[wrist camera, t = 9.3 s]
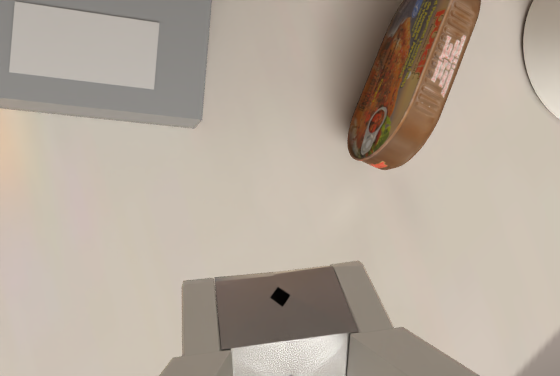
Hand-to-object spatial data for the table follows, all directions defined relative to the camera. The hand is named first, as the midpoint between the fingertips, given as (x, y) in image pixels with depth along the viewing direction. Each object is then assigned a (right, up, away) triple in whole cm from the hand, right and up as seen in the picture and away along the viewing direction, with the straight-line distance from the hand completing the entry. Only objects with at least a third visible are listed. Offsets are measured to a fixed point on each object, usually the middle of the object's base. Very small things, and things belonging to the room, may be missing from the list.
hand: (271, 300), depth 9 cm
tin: (+9, +10, +33) cm, 36 cm away
